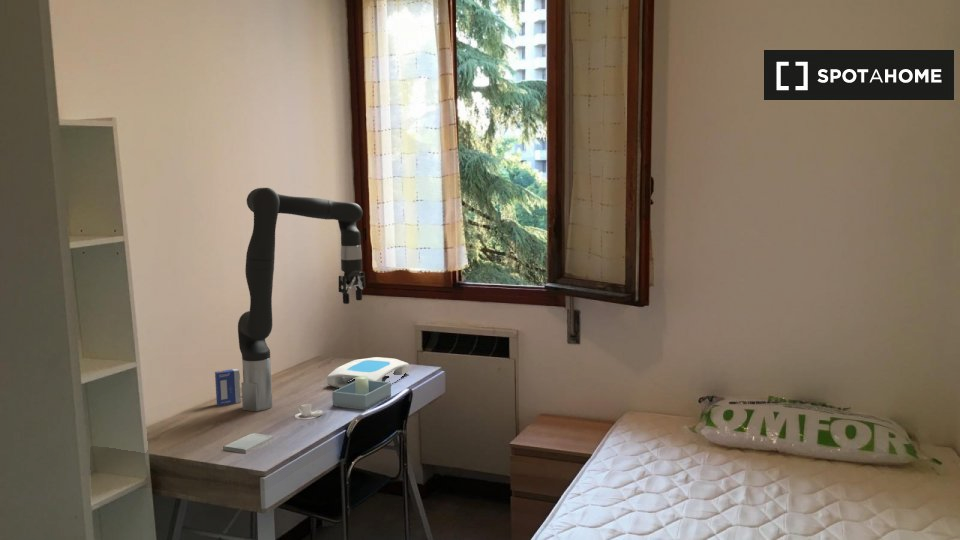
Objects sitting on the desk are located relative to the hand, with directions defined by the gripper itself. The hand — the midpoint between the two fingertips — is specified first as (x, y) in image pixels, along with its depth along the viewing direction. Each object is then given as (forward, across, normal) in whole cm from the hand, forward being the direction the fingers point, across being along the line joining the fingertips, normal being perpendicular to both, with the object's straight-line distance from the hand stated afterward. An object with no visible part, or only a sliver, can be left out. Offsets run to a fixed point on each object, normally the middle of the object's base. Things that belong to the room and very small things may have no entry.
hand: (352, 301), depth 269 cm
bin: (+33, -11, -10) cm, 36 cm away
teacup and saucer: (+34, -34, -4) cm, 48 cm away
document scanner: (+34, +13, +2) cm, 36 cm away
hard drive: (+34, -60, -1) cm, 69 cm away
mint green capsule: (+32, -11, -10) cm, 35 cm away
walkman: (+33, -30, +33) cm, 56 cm away
